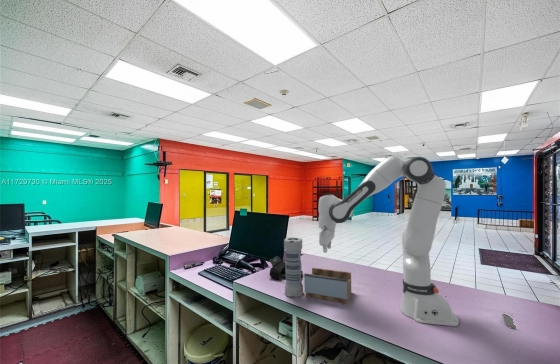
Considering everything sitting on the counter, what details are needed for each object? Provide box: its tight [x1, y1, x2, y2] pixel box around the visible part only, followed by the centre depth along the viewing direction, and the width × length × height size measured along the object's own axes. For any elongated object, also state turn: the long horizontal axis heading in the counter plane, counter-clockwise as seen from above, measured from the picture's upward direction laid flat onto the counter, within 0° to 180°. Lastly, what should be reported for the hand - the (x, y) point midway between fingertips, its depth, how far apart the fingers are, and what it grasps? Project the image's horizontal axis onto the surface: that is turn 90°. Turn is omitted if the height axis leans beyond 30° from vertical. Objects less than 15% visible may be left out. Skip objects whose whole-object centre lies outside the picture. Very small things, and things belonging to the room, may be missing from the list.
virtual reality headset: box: [269, 255, 304, 281], centre depth 160 cm, size 19×22×10 cm
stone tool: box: [502, 313, 516, 330], centre depth 104 cm, size 14×1×5 cm
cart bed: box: [305, 267, 352, 305], centre depth 132 cm, size 22×14×11 cm, turn 66°
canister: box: [283, 236, 304, 298], centre depth 134 cm, size 10×10×30 cm
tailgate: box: [303, 272, 347, 299], centre depth 125 cm, size 22×2×9 cm, turn 66°
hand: (327, 250), depth 131 cm, fingers open, 7 cm apart
